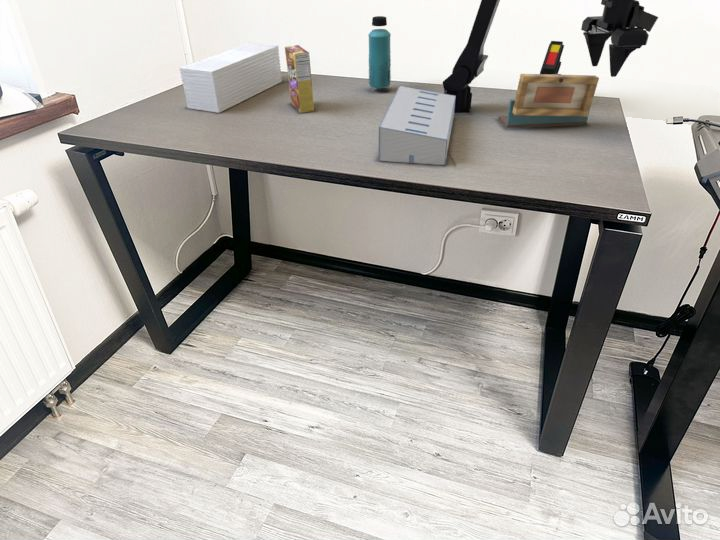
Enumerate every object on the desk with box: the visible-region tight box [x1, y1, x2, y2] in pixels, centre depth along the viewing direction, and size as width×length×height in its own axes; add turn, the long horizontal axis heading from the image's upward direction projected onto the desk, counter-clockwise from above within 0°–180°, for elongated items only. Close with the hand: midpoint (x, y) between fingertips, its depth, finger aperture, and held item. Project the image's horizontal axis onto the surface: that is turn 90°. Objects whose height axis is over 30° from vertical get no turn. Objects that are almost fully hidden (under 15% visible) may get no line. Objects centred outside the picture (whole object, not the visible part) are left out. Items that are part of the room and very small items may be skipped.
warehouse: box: [378, 85, 456, 166], centre depth 121 cm, size 30×14×8 cm, turn 168°
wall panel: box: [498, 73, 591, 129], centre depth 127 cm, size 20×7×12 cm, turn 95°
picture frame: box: [512, 73, 600, 118], centre depth 122 cm, size 18×2×9 cm, turn 95°
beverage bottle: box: [367, 15, 392, 89], centre depth 149 cm, size 6×7×20 cm
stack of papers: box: [179, 42, 283, 114], centre depth 151 cm, size 32×11×11 cm, turn 155°
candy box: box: [284, 44, 315, 114], centre depth 139 cm, size 9×4×15 cm, turn 23°
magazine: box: [539, 40, 565, 74], centre depth 141 cm, size 4×13×15 cm, turn 155°
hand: (603, 71), depth 119 cm, fingers open, 9 cm apart
